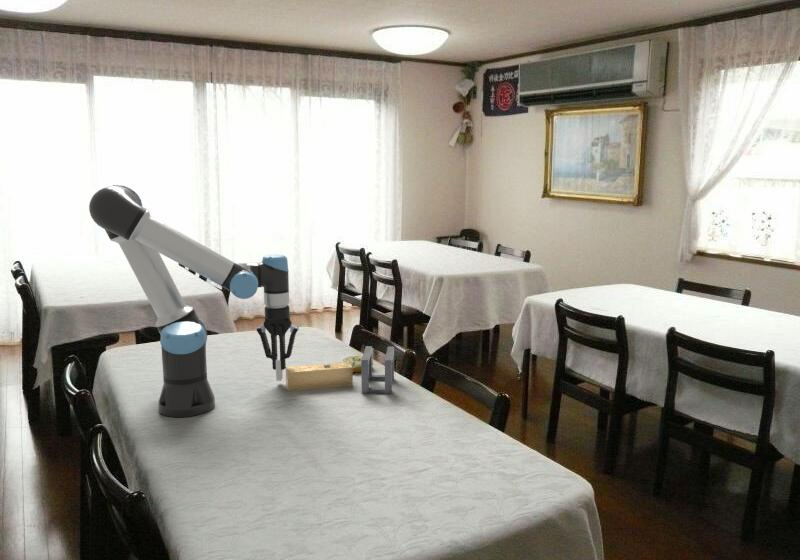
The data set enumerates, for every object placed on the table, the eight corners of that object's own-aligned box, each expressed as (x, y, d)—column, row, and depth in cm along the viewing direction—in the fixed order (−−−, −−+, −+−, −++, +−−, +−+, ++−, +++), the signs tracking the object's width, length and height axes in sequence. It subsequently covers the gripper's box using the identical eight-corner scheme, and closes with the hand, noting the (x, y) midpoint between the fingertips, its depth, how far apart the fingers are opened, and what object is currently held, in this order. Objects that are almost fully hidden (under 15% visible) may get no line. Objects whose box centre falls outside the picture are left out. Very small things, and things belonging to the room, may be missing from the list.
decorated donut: (334, 368, 220) (334, 357, 219) (361, 362, 227) (360, 352, 226) (352, 376, 212) (352, 365, 211) (378, 369, 219) (378, 359, 218)
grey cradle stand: (391, 394, 195) (391, 360, 193) (361, 393, 196) (361, 359, 194) (393, 378, 209) (394, 346, 208) (366, 377, 210) (365, 346, 208)
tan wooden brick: (288, 391, 198) (287, 372, 197) (285, 385, 203) (285, 366, 202) (352, 385, 203) (352, 366, 202) (348, 379, 209) (348, 361, 208)
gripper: (300, 302, 203) (302, 375, 207) (258, 302, 203) (261, 375, 207) (295, 308, 195) (297, 383, 200) (252, 307, 196) (255, 383, 200)
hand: (279, 379), depth 203 cm, fingers closed
